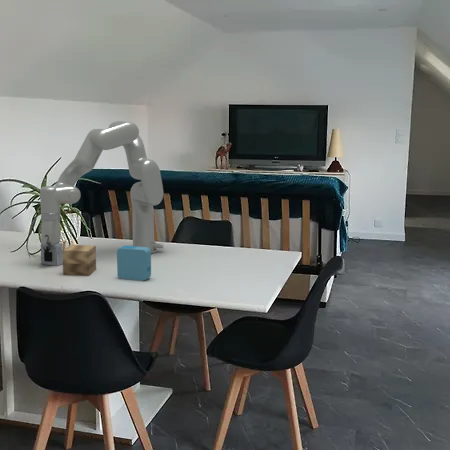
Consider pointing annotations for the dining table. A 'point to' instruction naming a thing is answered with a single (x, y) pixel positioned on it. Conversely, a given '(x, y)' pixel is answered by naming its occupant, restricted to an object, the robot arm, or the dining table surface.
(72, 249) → the upper block
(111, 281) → the dining table surface
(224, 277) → the dining table surface
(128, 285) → the dining table surface
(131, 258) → the data package
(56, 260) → the medicine box
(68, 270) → the lower block
